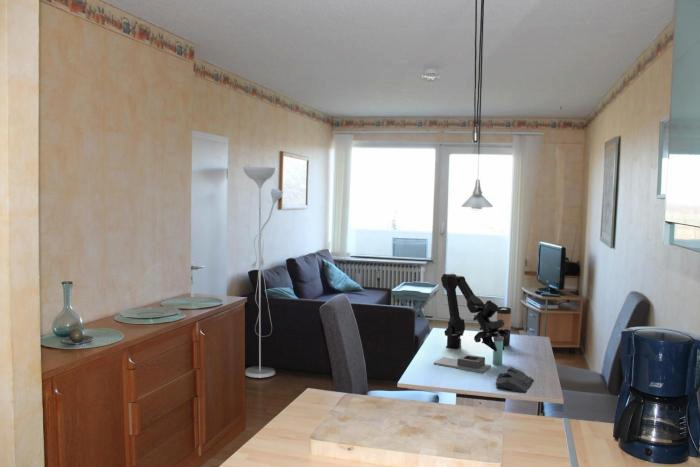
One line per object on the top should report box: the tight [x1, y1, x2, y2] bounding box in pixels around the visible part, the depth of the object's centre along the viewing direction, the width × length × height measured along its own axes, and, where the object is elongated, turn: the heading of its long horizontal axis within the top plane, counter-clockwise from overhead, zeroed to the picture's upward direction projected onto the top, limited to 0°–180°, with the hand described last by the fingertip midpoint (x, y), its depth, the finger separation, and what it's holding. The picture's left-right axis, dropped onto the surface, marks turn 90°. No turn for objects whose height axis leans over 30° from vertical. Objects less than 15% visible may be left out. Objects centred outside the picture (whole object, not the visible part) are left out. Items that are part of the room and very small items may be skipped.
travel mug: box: [496, 306, 512, 347], centre depth 318 cm, size 8×8×20 cm
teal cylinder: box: [492, 336, 504, 366], centre depth 280 cm, size 5×5×13 cm
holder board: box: [433, 353, 492, 374], centre depth 276 cm, size 24×12×4 cm, turn 59°
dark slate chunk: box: [495, 366, 535, 394], centre depth 250 cm, size 15×22×5 cm
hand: (500, 350), depth 279 cm, fingers closed on teal cylinder, 4 cm apart
